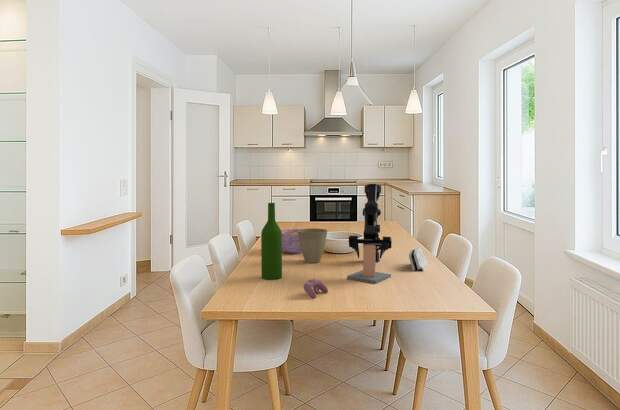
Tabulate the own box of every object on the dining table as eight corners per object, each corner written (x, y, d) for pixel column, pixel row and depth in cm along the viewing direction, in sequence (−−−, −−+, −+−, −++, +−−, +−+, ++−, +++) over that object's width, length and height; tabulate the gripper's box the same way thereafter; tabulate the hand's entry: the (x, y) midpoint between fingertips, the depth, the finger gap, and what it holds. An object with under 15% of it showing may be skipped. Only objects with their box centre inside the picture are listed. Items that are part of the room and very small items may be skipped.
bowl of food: (278, 248, 276) (278, 228, 275) (313, 249, 274) (313, 229, 273) (272, 255, 256) (272, 234, 255) (309, 256, 254) (310, 234, 253)
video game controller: (320, 295, 187) (314, 278, 188) (329, 291, 185) (323, 274, 186) (306, 301, 179) (299, 283, 180) (315, 297, 177) (308, 280, 178)
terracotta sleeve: (363, 273, 211) (364, 244, 210) (375, 274, 210) (375, 244, 209) (363, 276, 206) (363, 246, 205) (374, 276, 206) (375, 246, 204)
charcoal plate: (347, 278, 207) (347, 276, 207) (362, 272, 218) (362, 269, 218) (376, 283, 199) (376, 280, 199) (390, 276, 210) (390, 274, 210)
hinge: (423, 271, 221) (416, 250, 221) (413, 273, 223) (407, 253, 223) (429, 264, 236) (423, 244, 237) (420, 266, 238) (414, 247, 238)
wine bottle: (272, 273, 215) (272, 201, 212) (286, 277, 209) (286, 203, 206) (257, 277, 209) (256, 202, 206) (270, 281, 202) (270, 204, 199)
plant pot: (326, 258, 249) (326, 228, 247) (328, 264, 234) (328, 232, 233) (297, 258, 248) (297, 228, 247) (297, 264, 234) (297, 232, 232)
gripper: (349, 217, 211) (346, 246, 202) (392, 218, 208) (391, 248, 199) (350, 232, 220) (348, 261, 210) (391, 233, 217) (391, 262, 207)
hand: (369, 258), depth 206 cm, fingers open, 9 cm apart
